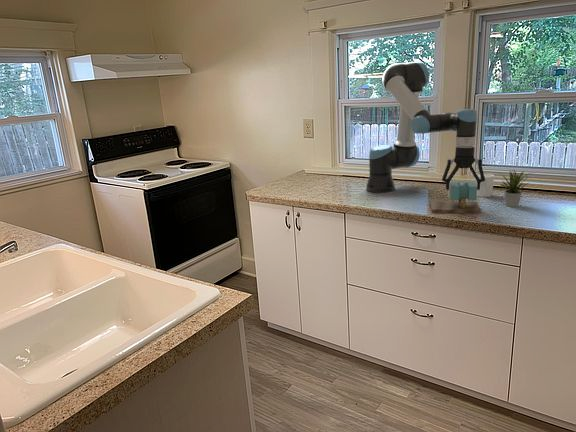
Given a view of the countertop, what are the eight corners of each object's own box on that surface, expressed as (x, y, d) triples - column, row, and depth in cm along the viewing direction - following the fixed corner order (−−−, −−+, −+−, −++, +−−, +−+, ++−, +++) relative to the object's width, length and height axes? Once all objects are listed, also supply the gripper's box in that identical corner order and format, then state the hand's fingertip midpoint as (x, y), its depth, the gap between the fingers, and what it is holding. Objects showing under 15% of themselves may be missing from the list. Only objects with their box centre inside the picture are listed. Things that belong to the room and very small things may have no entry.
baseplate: (431, 212, 190) (432, 187, 187) (429, 204, 203) (430, 180, 199) (480, 213, 185) (482, 187, 182) (476, 205, 197) (477, 180, 194)
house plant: (540, 207, 188) (545, 170, 183) (514, 211, 185) (518, 174, 180) (515, 200, 201) (518, 165, 197) (490, 204, 198) (493, 168, 193)
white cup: (494, 197, 208) (496, 177, 205) (476, 197, 209) (478, 177, 206) (490, 193, 215) (492, 173, 212) (473, 193, 217) (474, 173, 214)
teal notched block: (448, 194, 198) (449, 181, 196) (472, 194, 195) (473, 181, 193) (451, 200, 188) (451, 186, 187) (476, 200, 186) (477, 186, 184)
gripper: (437, 148, 185) (435, 198, 191) (495, 147, 179) (491, 199, 185) (436, 145, 191) (434, 194, 198) (492, 144, 186) (488, 194, 192)
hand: (462, 196), depth 192 cm, fingers closed on teal notched block, 10 cm apart
